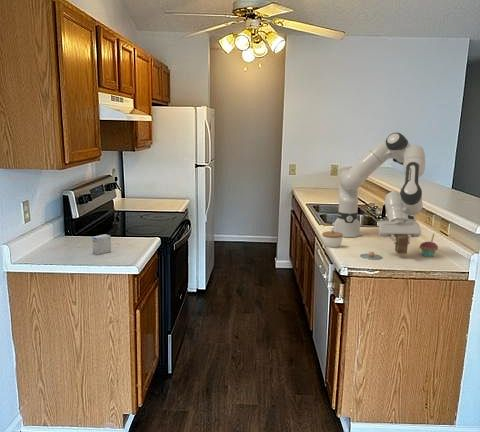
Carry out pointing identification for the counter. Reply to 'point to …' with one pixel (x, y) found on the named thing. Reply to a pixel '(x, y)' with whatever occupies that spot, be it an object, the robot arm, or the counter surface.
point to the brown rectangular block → (401, 244)
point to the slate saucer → (376, 257)
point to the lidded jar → (332, 239)
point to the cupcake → (429, 248)
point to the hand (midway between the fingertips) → (402, 243)
